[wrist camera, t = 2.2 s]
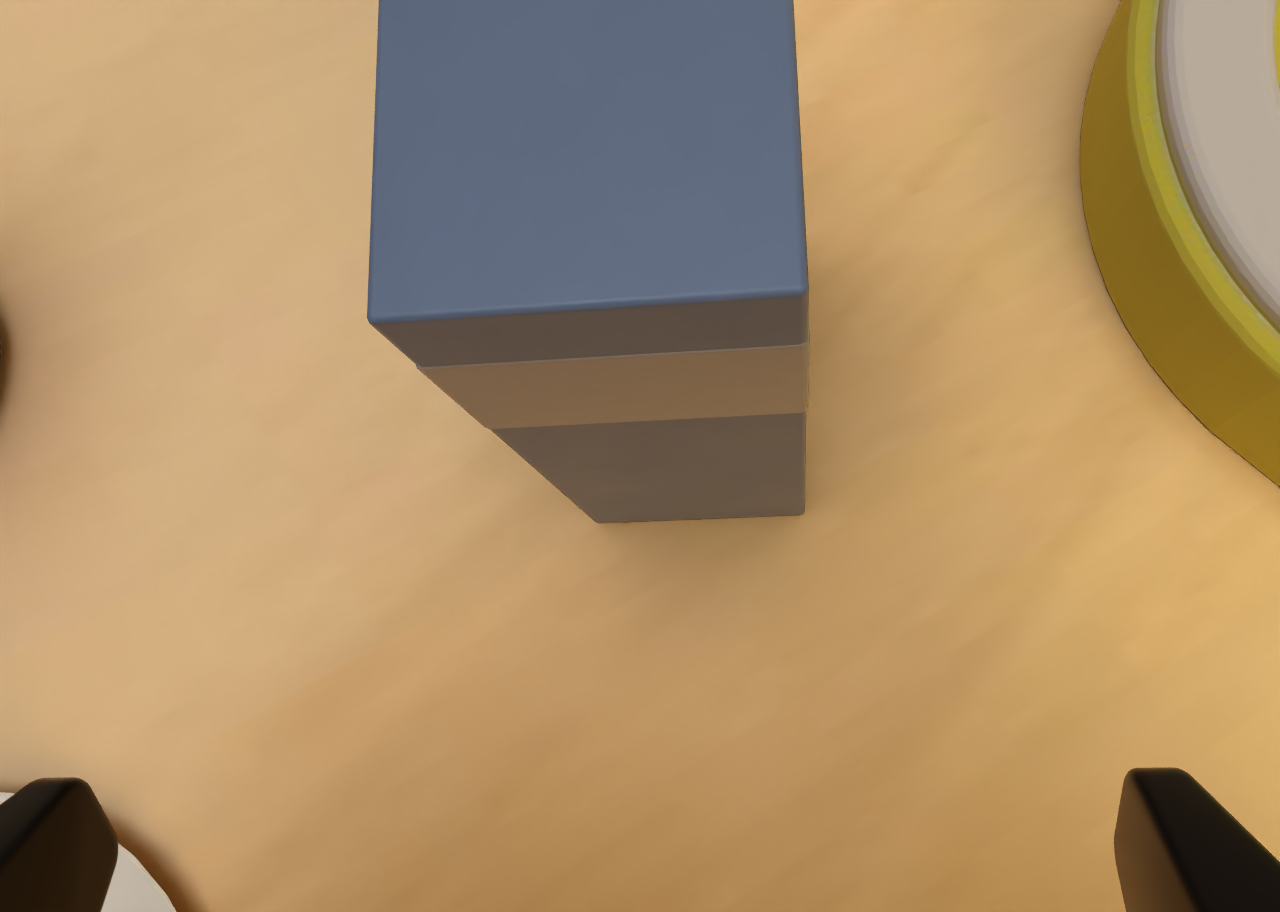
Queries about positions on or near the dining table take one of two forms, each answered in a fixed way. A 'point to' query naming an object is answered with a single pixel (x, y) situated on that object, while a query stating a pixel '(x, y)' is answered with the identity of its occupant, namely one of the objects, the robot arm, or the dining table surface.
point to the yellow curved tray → (1193, 204)
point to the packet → (602, 241)
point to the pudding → (129, 885)
